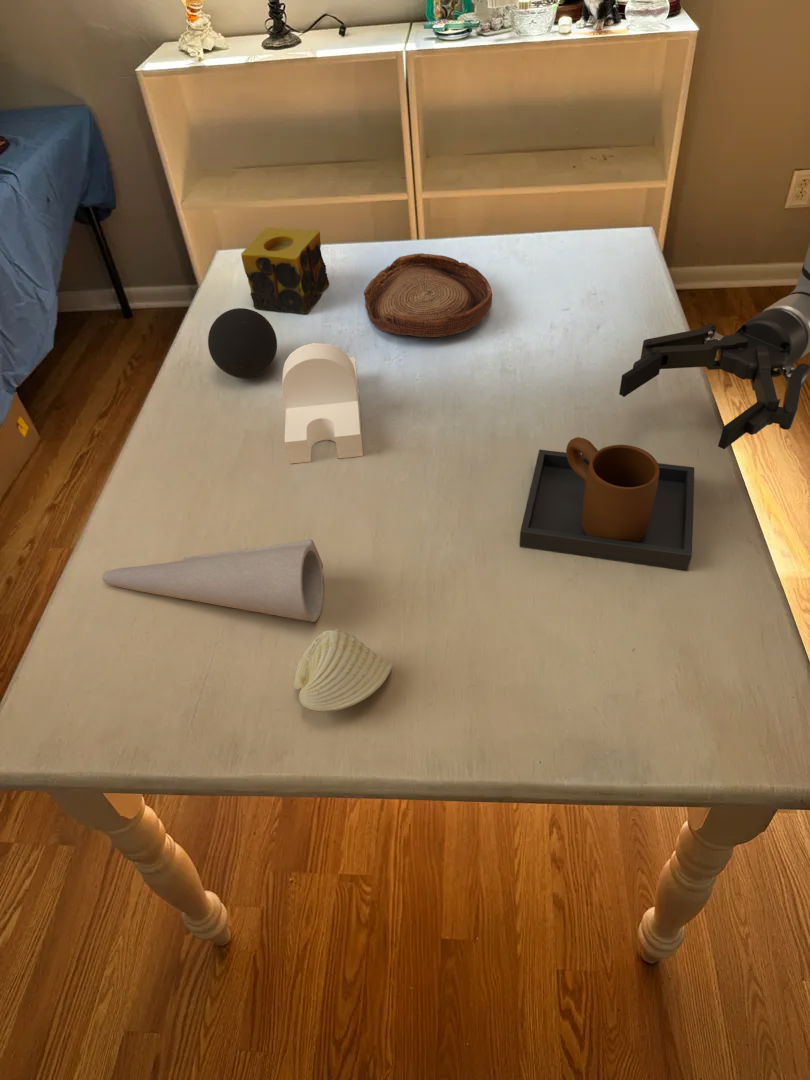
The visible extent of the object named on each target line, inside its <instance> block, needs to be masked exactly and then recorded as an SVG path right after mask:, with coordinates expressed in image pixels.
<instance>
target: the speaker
mask: <svg viewBox="0 0 810 1080" xmlns="http://www.w3.org/2000/svg"><path fill="white" fill-rule="evenodd" d="M277 339H278V338H277V335H276V332H275V330H274V327H273V325H272V324H271V323H270V321H269V319H267V318H266V317H265V316H263V315H262V314H261V313H259V312H258V311H256V310H253V309H250V308H246V307H245V308H243V307H239V308H238V307H236V308H231V309H229V310H226V311H224V312H222V313H221V314H220V315H219V316H218V317H216V319H215V320H214V321H213V323H212V324H211V327H210V328H209V331H208V336H207V346H208V347H207V348H208V352H209V354H210V357H211V359H212V361H213V362H214V363H215V366H217V368H219V369H220V370H221V371H222V372H224V373H225V374H227V375H228V376H231V377H234V378H237V379H238V378H239V379H249V378H254V377H258V376H259V375H261V374H263V373H264V372H265V371H266V370H268V369H269V368H270V366H271V365H272V364H273V362H274V360H275V358H276V356H277V351H278V340H277Z"/></svg>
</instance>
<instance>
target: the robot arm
mask: <svg viewBox="0 0 810 1080" xmlns="http://www.w3.org/2000/svg"><path fill="white" fill-rule="evenodd" d="M716 330H717V325H716V324H714V323H708V324H706V325H703V326H701V327H699V328H697V329H691V330H686V331H682V332H681V331H680V332H677V333H676V332H675V333H672V334H667V335H662V336H657V337H651V338H647V339H644V340H643V342H642V347H641V353H640V358H639V359H638V360H636V361H635V362H634V363H633V364H632V368H631V369H629V370H628V371H627V372H625V373H623V374H622V375H621V380H620V386H619V392H618V395H620V397H624V398H625V397H626V396H628V395H630V394H631V393H632V392H634V391H636V390H638V388H640V387H642V386H644V385H645V384H647V383H648V382H649V381H651V380H652V379H654V378H655V377H657V376H659V375H660V371H661V370H669V369H670V370H671V369H687V368H689V369H690V368H704V367H705V368H706V370H708V371H716V370H721V371H724V372H725V373H729V374H732V375H734V376H736V377H737V378H738V379H741V380H750V385H751V389H752V391H754V395H755V398H756V399H755V400H756V402H755V403H754V404H752V405H751V406H750V407H748V408H747V409H745V410H744V411H743V412H741V413H740V414H739V415H737V416H736V417H734V418H733V419H732V420H731V421H729V422H728V423H726V424H725V425H724V426H723V427H722V431H721V434H720V437H719V441H718V446H717V447H718V448H720V449H722V450H725V449H727V448H728V447H729V446H731V445H732V444H734V443H735V442H736V441H738V440H739V439H740V438H741V437H742V436H744V435H745V434H748V435H750V436H752V435H756V434H758V433H759V432H760V431H761V430H763V429H764V428H766V427H767V426H771V425H773V424H776V425H778V427H779V428H780V429H782V430H786V431H788V430H790V429H791V428H792V425H793V422H794V421H795V416H796V414H797V412H798V407H799V401H800V394H801V389H802V387H803V386H804V385H805V382H806V379H807V376H808V373H809V371H810V365H808V364H807V363H800V364H798V365H797V366H794V364H796V363H797V362H798V361H799V360H801V359H802V358H803V357H805V356H806V355H808V354H809V353H810V243H809V245H808V248H807V251H806V256H805V258H804V262H803V265H802V267H801V270H800V273H799V275H798V279H797V282H796V285H795V288H794V290H792V291H791V292H790V293H788V294H787V295H785V296H784V297H782V298H780V299H779V300H778V301H776V302H773V304H771V305H769V306H768V307H766V308H764V310H762V311H761V312H759V313H758V314H756V315H755V316H753V317H752V318H750V319H749V320H747V321H746V322H744V323H743V324H741V326H740V327H738V329H737V330H736V331H735V332H734V333H731V334H726V335H722V334H720V333H718V332H717V331H716ZM717 353H718V359H716V357H717ZM781 376H783V381H784V382H785V383H784V386H785V387H786V388H785V392H784V396H783V402H782V406H779V405H780V403H781V398H778V396H777V393H776V388H775V384H774V380H773V378H778V377H781Z"/></svg>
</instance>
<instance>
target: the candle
mask: <svg viewBox="0 0 810 1080" xmlns="http://www.w3.org/2000/svg"><path fill="white" fill-rule="evenodd" d="M321 247H322V243H321V231H320V230H319V229H302V228H301V229H298V228H284V227H283V228H282V227H264V228H263V229H262V231H261V232H260V233H259V234H257V236H256V237H255V238H254V239H253V240H252V241H251V242H250V244H249V245H247V246H246V248H245V249H244V250H243V251H242V252H241V254H240V255H241V260H242V264H243V269H244V272H245V275H246V278H247V282H248V285H249V288H250V293H249V294H250V298H251V300H252V303H253V308H254V309H255V310H261V311H262V310H263V311H272V312H284V313H293V314H302V315H305V314H309V312H310V311H311V310H312V309H313V307H314V306H315V305H316V304H317V302H318V301H319V300H320V299H321V297H322V295H323V294H322V293H323V292H324V291H325V290H326V289H327V288H328V287H329V286H330V281H329V277H328V273H327V265H326V263H325V260H324V258H323V256H322V249H321Z"/></svg>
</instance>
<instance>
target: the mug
mask: <svg viewBox="0 0 810 1080" xmlns="http://www.w3.org/2000/svg"><path fill="white" fill-rule="evenodd" d="M565 452H566V455H567V459H568V462H569V465H570V467H571V468H572V470H573V471H574V472H575V474H576V475H577V476H579V477H580V478H581V479H582V480H583V482H584V483H585V492H584V500H583V509H582V518H581V521H582V527H583V530H584V532H585V533H586V535H587V536H592V537H599V538H606V539H614V540H621V541H628V542H635V543H638V542H639V541H640V540H641V539H642V538H643V537H644V536H645V534H646V532H647V530H648V526H649V522H650V517H651V513H652V509H653V505H654V500H655V496H656V491H657V486H658V478H659V466H658V463H659V462H658V460H657V459H656V458H655V457H654V456H653V455H652V454H651V453H650V452H648V451H647V450H645V449H643V448H640V447H638V446H634V445H630V444H629V445H628V444H613V445H608V446H605V447H602V448H600V449H599V450H598V449H597V448H596V447H595V445H594V444H593V443H592V442H591V441H590V440H588V439H587V438H584V437H580V436H576V437H574V438H572V439H570V440H569V442H568V443H567V444H566V449H565ZM581 454H582V455H583V456H584V457H585V458H586V460H587V461H588V462H589V466H588V465H587V464H586V463H585V462H584V460H583V459H582V456H581Z"/></svg>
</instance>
